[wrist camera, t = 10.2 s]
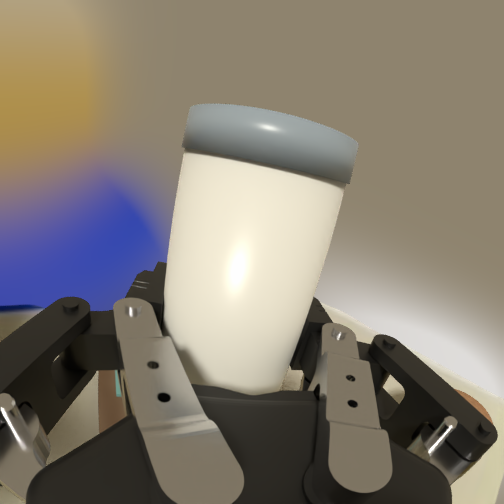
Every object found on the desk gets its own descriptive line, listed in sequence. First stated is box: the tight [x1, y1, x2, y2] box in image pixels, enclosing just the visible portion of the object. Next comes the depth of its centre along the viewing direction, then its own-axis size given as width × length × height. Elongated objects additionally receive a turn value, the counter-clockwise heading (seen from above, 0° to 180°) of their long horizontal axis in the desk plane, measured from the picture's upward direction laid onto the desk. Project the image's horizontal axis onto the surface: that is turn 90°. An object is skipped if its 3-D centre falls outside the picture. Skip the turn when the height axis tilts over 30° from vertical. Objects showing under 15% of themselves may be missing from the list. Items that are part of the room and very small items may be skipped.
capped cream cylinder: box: [161, 104, 359, 395], centre depth 11 cm, size 5×5×16 cm
